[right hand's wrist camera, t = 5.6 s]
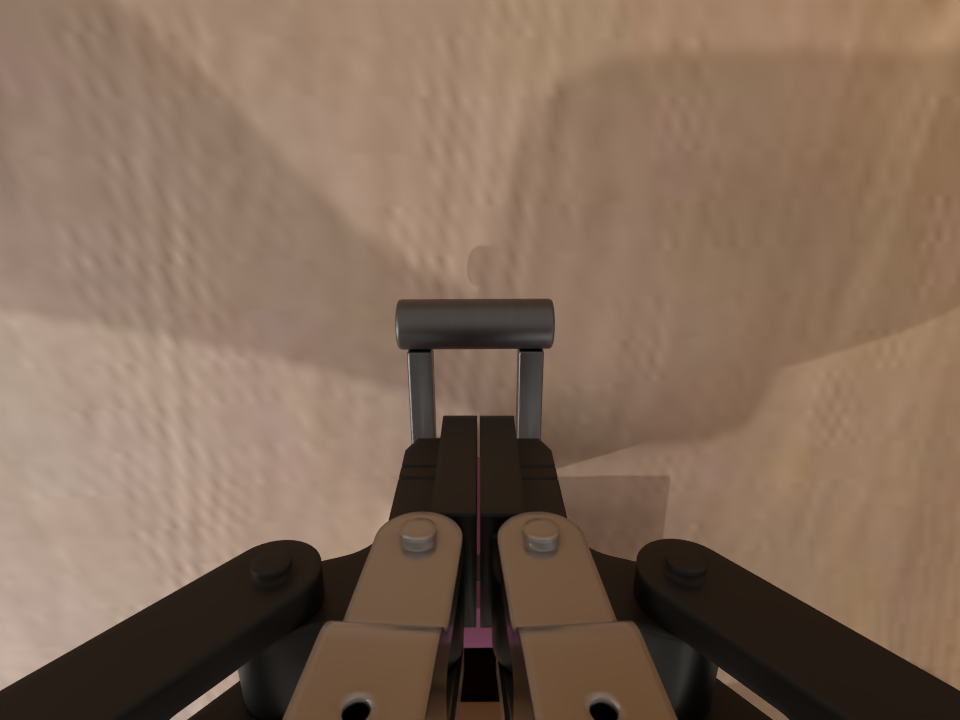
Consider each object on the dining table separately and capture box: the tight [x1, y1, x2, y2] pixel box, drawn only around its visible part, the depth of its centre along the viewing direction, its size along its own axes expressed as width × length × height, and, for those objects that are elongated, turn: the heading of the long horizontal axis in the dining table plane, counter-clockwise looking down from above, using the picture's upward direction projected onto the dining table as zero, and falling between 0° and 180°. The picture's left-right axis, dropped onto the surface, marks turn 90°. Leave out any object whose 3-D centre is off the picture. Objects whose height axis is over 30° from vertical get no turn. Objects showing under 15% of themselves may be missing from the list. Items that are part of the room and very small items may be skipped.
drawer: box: [395, 299, 555, 702], centre depth 18 cm, size 25×4×6 cm, turn 0°
